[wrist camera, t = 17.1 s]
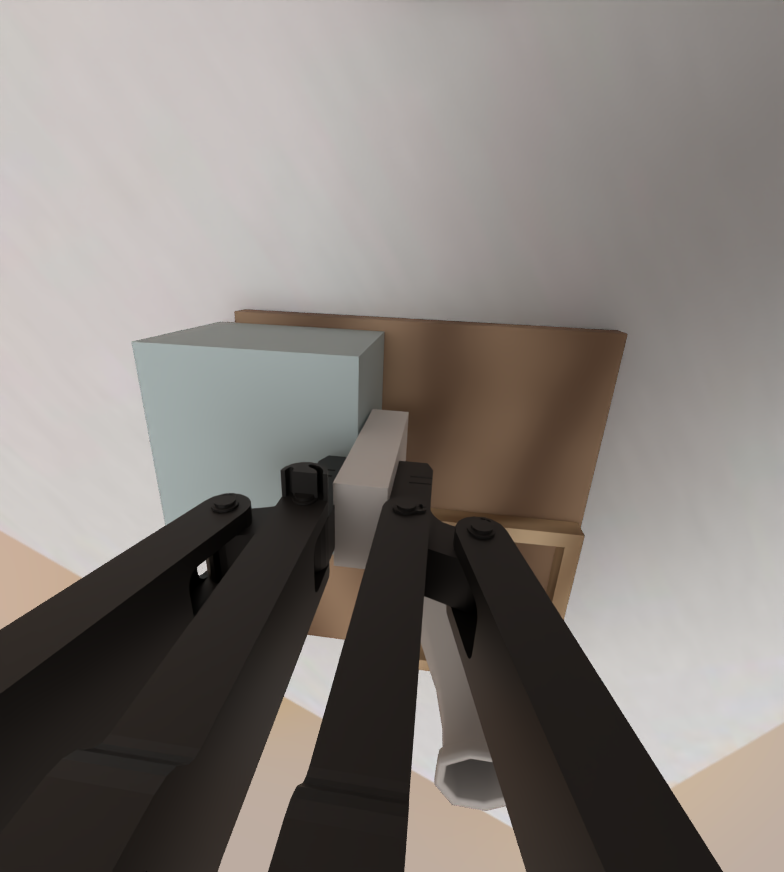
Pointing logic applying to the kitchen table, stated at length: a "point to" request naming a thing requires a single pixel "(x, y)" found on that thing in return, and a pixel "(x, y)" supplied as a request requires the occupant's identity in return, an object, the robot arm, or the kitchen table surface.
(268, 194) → the kitchen table surface
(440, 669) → the flask
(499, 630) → the robot arm
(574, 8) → the kitchen table surface
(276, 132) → the kitchen table surface
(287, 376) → the pale blue block
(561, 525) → the board
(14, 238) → the kitchen table surface
